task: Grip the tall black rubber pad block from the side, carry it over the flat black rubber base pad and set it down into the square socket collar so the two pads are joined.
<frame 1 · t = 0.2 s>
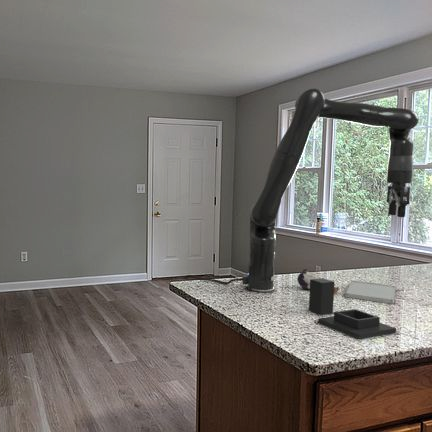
hand: (396, 216, 152), 29 cm above the table, tool pointing down, fingers open, 8 cm apart
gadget: (371, 293, 160), on the table
figurine: (317, 290, 164), on the table
pad block: (320, 311, 137), on the table
base pad: (355, 327, 122), on the table
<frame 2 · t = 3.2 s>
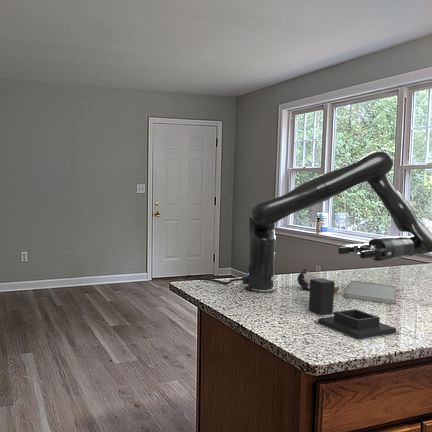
hand: (349, 252, 140), 18 cm above the table, tool horizontal, fingers open, 8 cm apart
nothing on the table moved.
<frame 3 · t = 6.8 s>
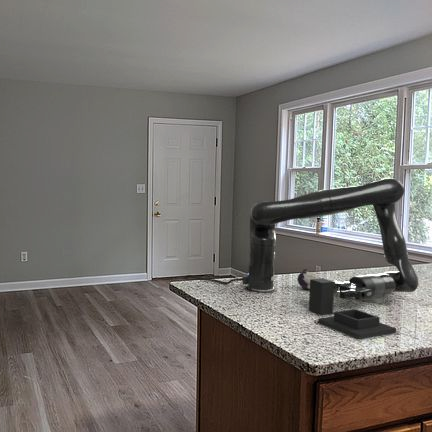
hand: (329, 292, 137), 6 cm above the table, tool horizontal, fingers open, 8 cm apart
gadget: (366, 293, 160), on the table, touching arm
everything else where it was.
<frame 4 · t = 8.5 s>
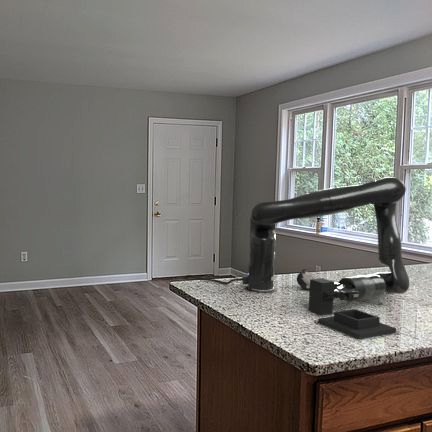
hand: (317, 293, 135), 6 cm above the table, tool horizontal, fingers closed on pad block, 5 cm apart
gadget: (363, 294, 159), on the table, touching arm
pad block: (320, 311, 136), on the table, touching gripper
everything else where it was.
when the fingers open (9 cm above the table, at t = 15.5 s): pad block drops 2 cm, resting on base pad.
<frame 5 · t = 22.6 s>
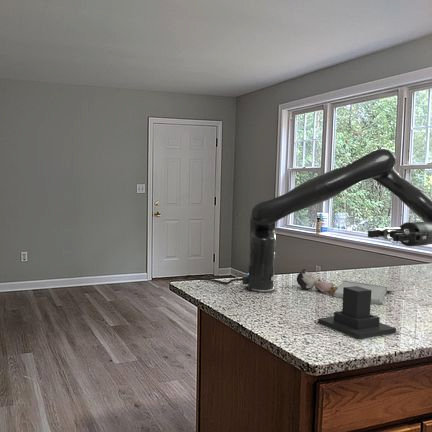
hand: (381, 235, 129), 25 cm above the table, tool horizontal, fingers open, 8 cm apart
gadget: (363, 294, 159), on the table
pad block: (355, 323, 122), point 1 cm above the table, touching base pad
everything else where it was.
at the end: pad block 0.6 cm off-centre on the base pad, point 1.2 cm above the base pad's base; pad block tilted 0°; the gripper is holding nothing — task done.
